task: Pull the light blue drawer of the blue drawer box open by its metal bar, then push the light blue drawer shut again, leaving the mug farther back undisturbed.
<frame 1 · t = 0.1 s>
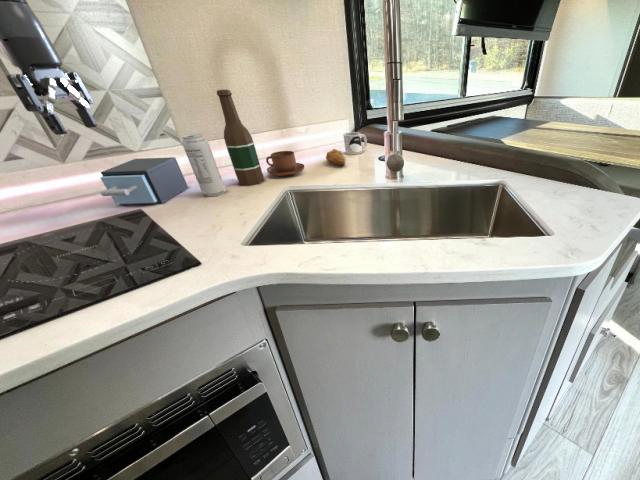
hand: (77, 130, 70), 19 cm above the worktop, tool pointing down, fingers open, 8 cm apart
cup and saucer: (287, 174, 105), on the worktop
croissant: (336, 164, 112), on the worktop
mug: (357, 152, 127), on the worktop
beer bottle: (251, 182, 98), on the worktop
energy drink can: (215, 194, 90), on the worktop
light blue drawer: (137, 185, 84), point 4 cm above the worktop, slide at 0.5 cm
blue drawer box: (156, 195, 90), on the worktop
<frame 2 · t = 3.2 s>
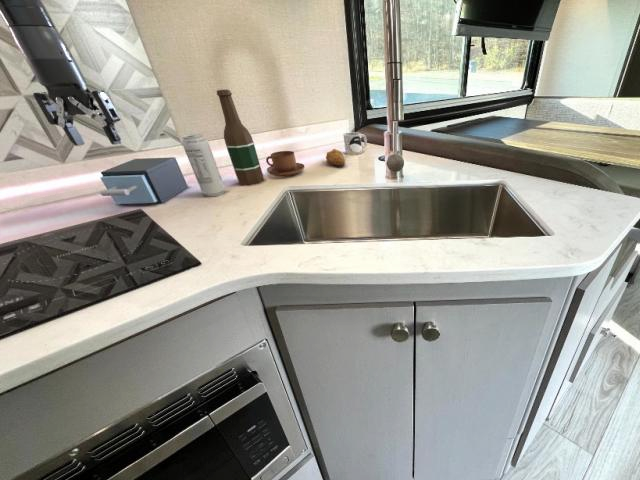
hand: (98, 144, 73), 15 cm above the worktop, tool pointing down, fingers open, 8 cm apart
nothing on the worktop moved.
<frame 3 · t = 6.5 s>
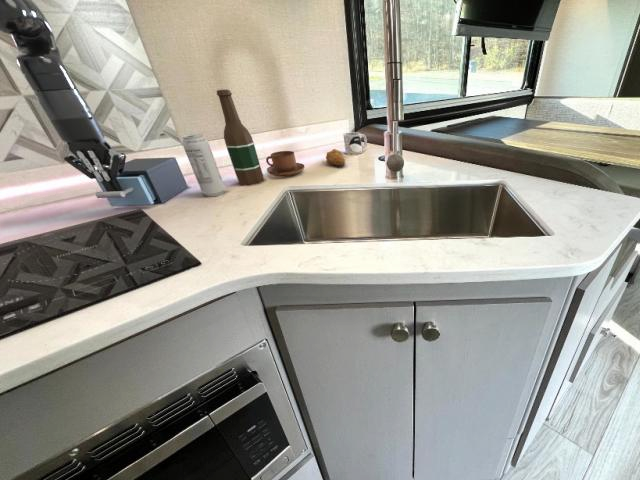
hand: (117, 195, 78), 4 cm above the worktop, tool pointing down, fingers closed
light blue drawer: (134, 187, 83), point 4 cm above the worktop, slide at 2.0 cm, touching gripper
everything else where it was.
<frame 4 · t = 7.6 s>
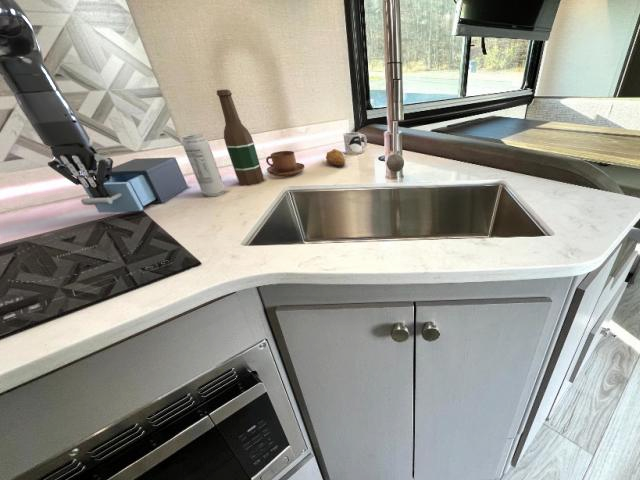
hand: (105, 201, 74), 4 cm above the worktop, tool pointing down, fingers closed
light blue drawer: (122, 193, 79), point 4 cm above the worktop, slide at 6.3 cm, touching gripper
everything else where it was.
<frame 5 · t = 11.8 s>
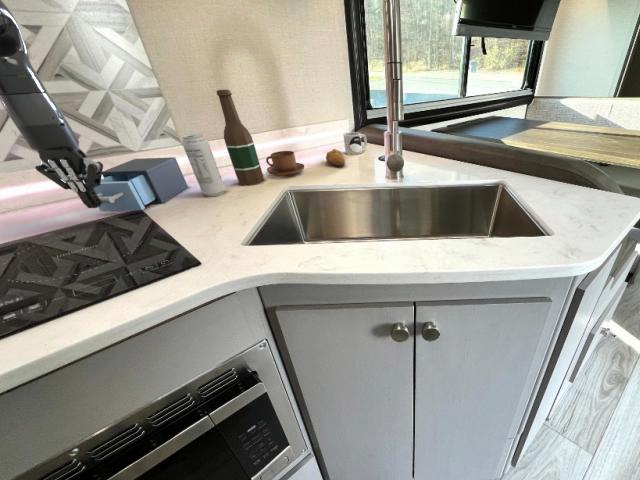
hand: (95, 206, 72), 4 cm above the worktop, tool pointing down, fingers closed
light blue drawer: (124, 192, 80), point 4 cm above the worktop, slide at 5.7 cm, touching gripper
everything else where it was.
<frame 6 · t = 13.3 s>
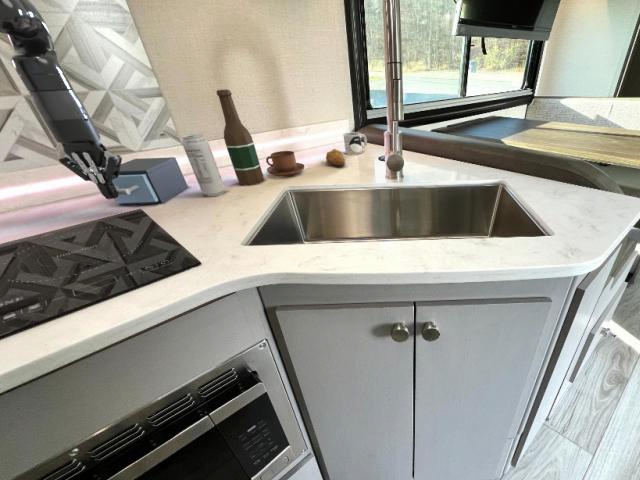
hand: (112, 198, 77), 4 cm above the worktop, tool pointing down, fingers closed
light blue drawer: (138, 185, 84), point 4 cm above the worktop, slide at 0.0 cm, touching blue drawer box, gripper
everything else where it was.
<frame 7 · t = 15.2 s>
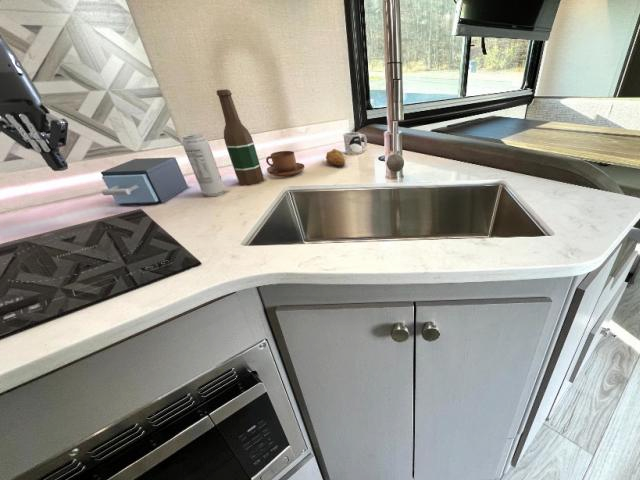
hand: (61, 169, 67), 12 cm above the worktop, tool pointing down, fingers closed
light blue drawer: (138, 185, 84), point 4 cm above the worktop, slide at 0.0 cm, touching blue drawer box
everything else where it was.
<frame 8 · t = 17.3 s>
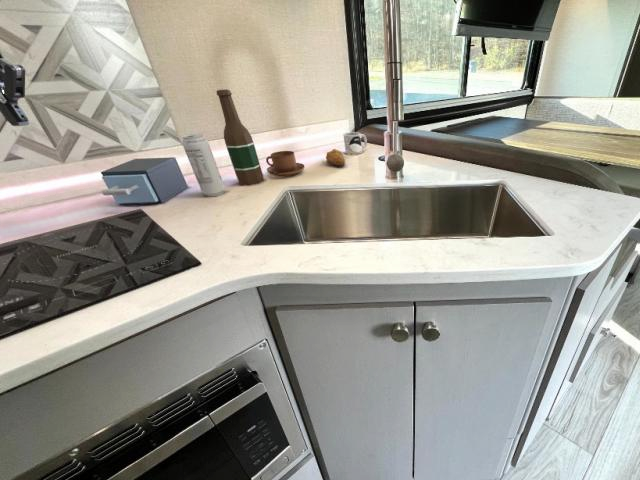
hand: (21, 125, 62), 21 cm above the worktop, tool pointing down, fingers closed
nothing on the worktop moved.
at the end: light blue drawer pulled out 6.4 cm at the most during the clip, back to where it started at the end; light blue drawer slide at 0.0 cm; mug moved 0.2 cm from its start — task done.
